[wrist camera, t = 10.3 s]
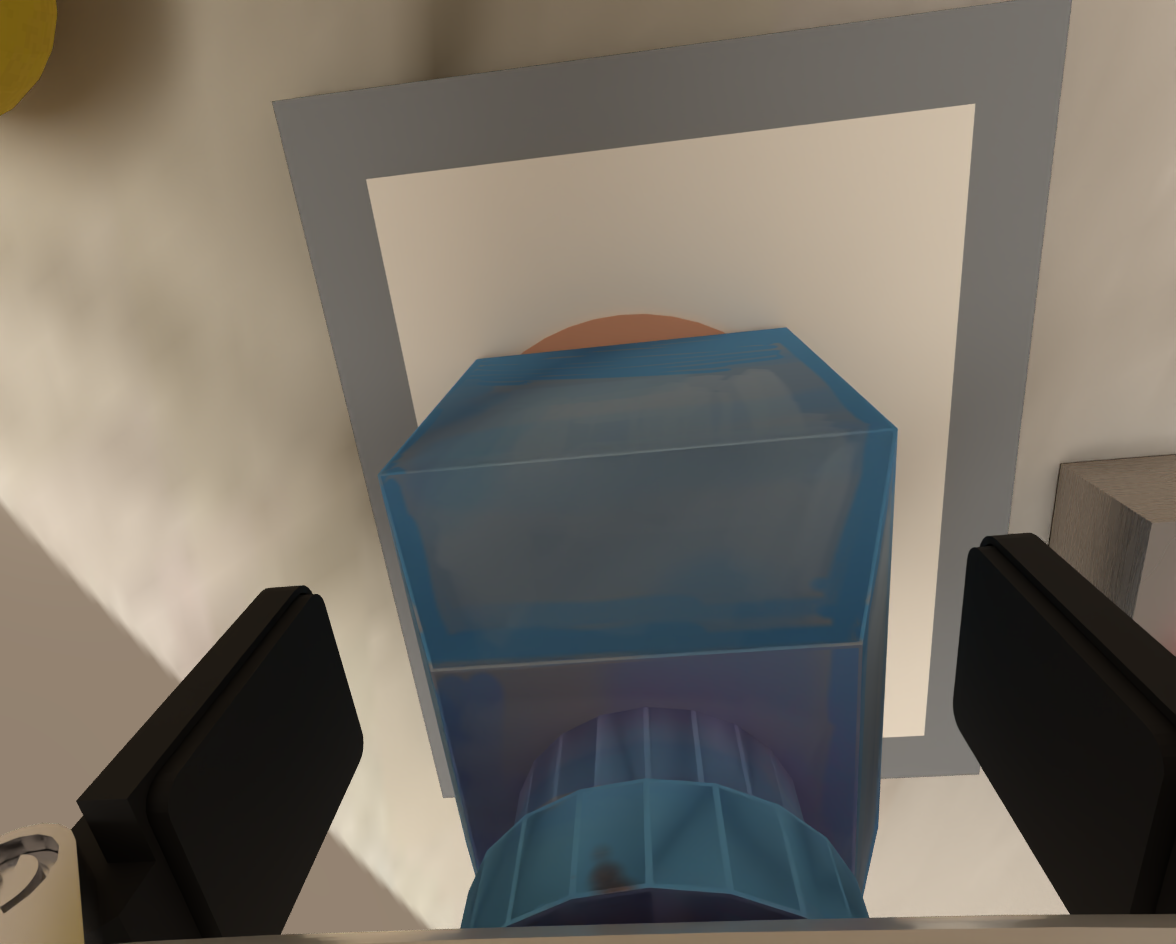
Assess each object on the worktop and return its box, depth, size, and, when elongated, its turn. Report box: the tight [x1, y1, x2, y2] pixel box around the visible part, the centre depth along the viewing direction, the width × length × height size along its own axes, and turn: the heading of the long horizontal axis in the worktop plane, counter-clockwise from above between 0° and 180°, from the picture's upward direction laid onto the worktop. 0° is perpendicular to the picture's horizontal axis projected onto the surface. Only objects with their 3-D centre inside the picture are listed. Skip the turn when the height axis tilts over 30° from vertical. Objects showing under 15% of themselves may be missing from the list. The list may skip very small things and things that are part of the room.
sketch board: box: [272, 0, 1072, 798], centre depth 16 cm, size 17×14×1 cm
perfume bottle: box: [378, 327, 898, 929], centre depth 10 cm, size 6×6×12 cm
